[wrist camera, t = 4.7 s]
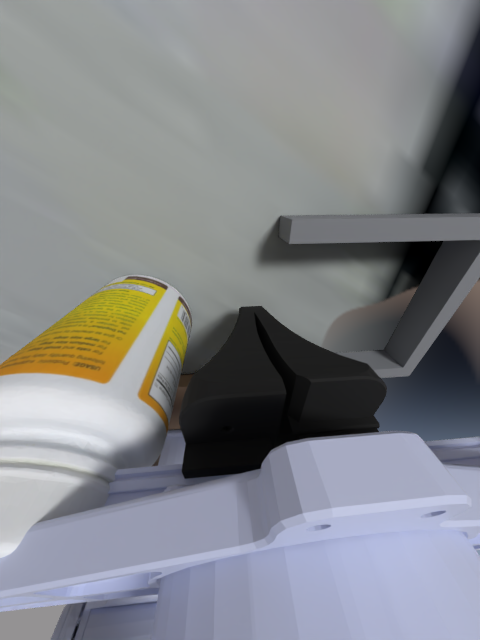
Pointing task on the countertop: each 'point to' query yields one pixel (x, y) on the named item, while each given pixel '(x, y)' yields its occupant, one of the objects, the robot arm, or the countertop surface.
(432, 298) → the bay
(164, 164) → the countertop surface
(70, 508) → the supplement bottle
